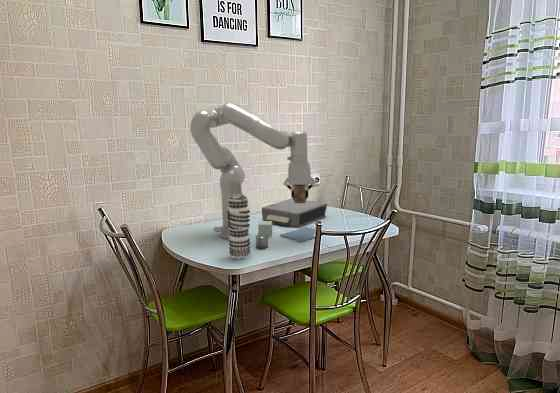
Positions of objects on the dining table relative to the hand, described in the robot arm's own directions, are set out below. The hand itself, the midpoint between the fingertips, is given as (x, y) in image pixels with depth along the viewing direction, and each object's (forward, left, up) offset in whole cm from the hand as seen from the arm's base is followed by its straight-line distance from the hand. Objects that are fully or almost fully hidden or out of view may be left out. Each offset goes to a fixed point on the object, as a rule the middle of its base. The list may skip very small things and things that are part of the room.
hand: (300, 198), depth 190 cm
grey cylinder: (-16, -16, -18) cm, 29 cm away
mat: (+2, +2, -18) cm, 18 cm away
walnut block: (0, 0, -2) cm, 2 cm away
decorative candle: (-24, -26, -18) cm, 40 cm away
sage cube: (-16, +2, -18) cm, 24 cm away
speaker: (-3, +31, -18) cm, 36 cm away
